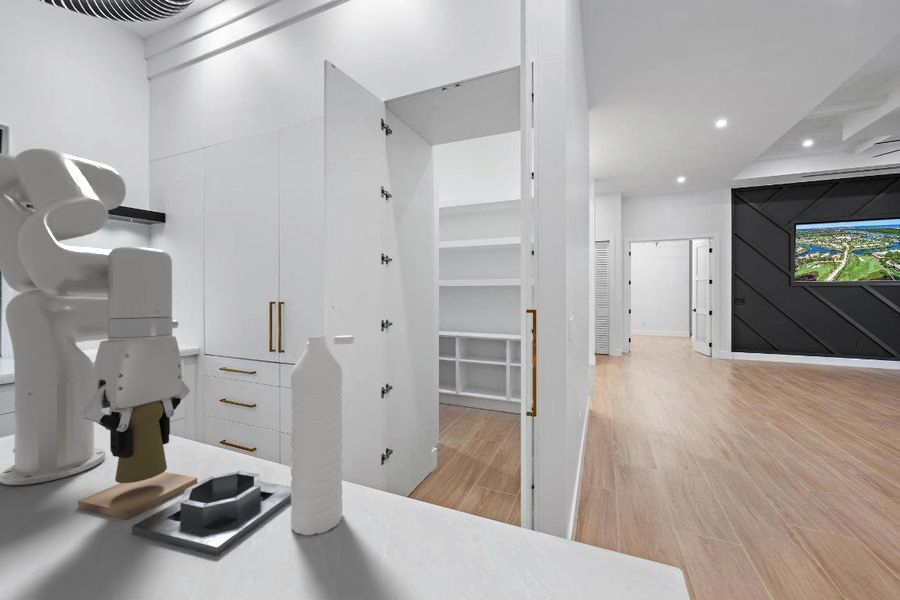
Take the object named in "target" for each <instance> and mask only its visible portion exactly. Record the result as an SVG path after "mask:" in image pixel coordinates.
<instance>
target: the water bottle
mask: <svg viewBox="0 0 900 600" xmlns="http://www.w3.org/2000/svg"><path fill="white" fill-rule="evenodd" d="M354 339H355V336H354V335H351V334H349V335H335V336H333V344H334V345H350V344H351V345H352V344H355V341H354ZM306 344H307V347H306V348H305V350H304V351H303V353H302V354H301V355H300V357H299V358H298V360H297V361H296V363H295V364H294V366H293V368H292V371H291V375H290V389H291V392H290V395H291V396H290V397H291V399H290V401H291V402H290V403H291V406H290V407H291V412H290V414H291V415H290V416H291V419H290V420H291V421H290V422H291V424H290V428H291V432H290V445H291V452H290V461H291V466H290V475H291V480H290V487H291V490H292V493H291V501H290V505H291V508H290V525H291V526H290V527H291V529H292V530H293V532H294V533H296V534H298V535H299V534H301V535H303V536H314V535H320V534H325V533H326V532H328V531H330V530H331V529H333V528H335V527H336V526H337V525H338V524H339V523H340V522H341V519H342V517H343V498H342V497H343V467H342V464H343V456H342V455H343V442H342V440H343V424H342V423H343V418H342V417H343V406H342V405H343V400H342V399H343V394H342V393H343V388H342V387H343V371H342V370H343V369H342V367H341V364H340V362H339V361H338V359H337V358H336V357H335V355H334V354H333V353H332V352H331V350H330V348H329V347H328V341H327V336H326V335H323V334H322V335H320V334H319V335H308V337H307V342H306Z"/></svg>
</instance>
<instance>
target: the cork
mask: <svg viewBox="0 0 900 600" xmlns="http://www.w3.org/2000/svg"><path fill="white" fill-rule="evenodd" d="M162 414H163V405H162V403H161V402H160V401H159V402H153V403H149V404H145V405H142V406H139V407H135V408H132V412H131V416H130V420H129V424H128V429H132V447H133V454H132V455H131V457H128V458H121V457H118V461H117V466H116V473H115V479H114V481H115V482H116V483H117V484H119V483H133V482H138V481H143V480H146V479H150V478H153V477H155V476H157V475H159V474H161V473H163V472H166V470H167V468H168V465H167V460H166V454H165V448H164V444H163V441H162V435H161V430H160V424H159V419H160V418H161V417H162Z"/></svg>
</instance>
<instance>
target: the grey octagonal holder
mask: <svg viewBox="0 0 900 600" xmlns="http://www.w3.org/2000/svg"><path fill="white" fill-rule="evenodd" d="M291 493H292V490H291V485H283V484H278V483H271V482H267V481H261V474H260V473H254V472H249V471H242V470H239V471H233V472H232V471H231V472H227V473H223V474H217V475H214V476H213V475H212V476H209V477H207V478H205V479H203V480H201V481H200V482H197V484H195V485H193V486H191V487H189V488H187V489H185V491H183V495H182V497H181V500H179V501H177V502H175V503H173V504H171V505H169V506H167V507H166V508H163V509H161V510H160V511H158V512H156V513H154V514H152V515H150V516H148V517H147V518H144V519H142V520H140V521H139V522H137V523H134V525H132V526H131V534H132V535H134V536H139V537H142V538H146V539H150V540H154V541H159V542H161V543H167V544H169V545H174V546H177V547H180V548H181V547H182V548H185V549H190V550H192V551H196V552H200V553H204V554H209V555H212V556H216V557H218V556H219V555H220V554H222V553H223V552H225V550H227V549H229V548H230V547H231V546H232V545H234V544H236V543H237V542H238V541H239V540H241V539H242V538H243V537H244V536H246V535H248V534H249V533H251V531H252V530H254V529H255V528H257V527H258V526H260V525H261V524H262V523H263V522H265V521H267V519H269V518H270V517H271V516H273V515H274V514H275V513H277V512H278V511H279V510H281V509H282V508H283V507H285V506H286V505H288V504H289V503H291ZM261 499H264V501H261ZM179 519H180V521H177V520H179Z"/></svg>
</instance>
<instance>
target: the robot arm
mask: <svg viewBox="0 0 900 600" xmlns="http://www.w3.org/2000/svg"><path fill="white" fill-rule="evenodd" d="M126 194H127V188H126V183H125V181H124V178H123V177H122V175H121V174H120V173H119V172H118V171H117V170H116V169H114V168H113V167H112V166H109V165H106V164H103V163H101V162H96V161H93V160H90V159H86V158H83V157H77V156H74V155H73V154H72V155H71V154H67V153H64V152H61V151H57V150H52V149H46V148H30V149H26V150H23V151H21V152H20V153H18V154H17V155H16V156H15V155H11V154H5V153H2V152H1V153H0V273H1V275H2V277H3V279H4V280H5V283H6V284H7V285H8V286H9V287H10V288H11V289H12V290H14V291H15V292H18V293H19V294H17V295H15V296H13V298H11V299H10V300H9V302H8V303H7V305H6V309H5V321H6V326H7V329H8V333H9V337H10V342H11V346H12V351H13V362H14V366H13V367H14V448H13V450H12V452H13V454H14V465H11V466H9V467H7V468H6V469H4V470H3V471H1V473H0V483H1V484H3V485H7V486H26V485H33V484H39V483H46V482H50V481H55V480H59V479H63V478H67V477H69V476H73V475H76V474H79V473H82V472H85V471H87V470H89V469H91V468H93V467H96V466H97V465H99V464H100V463H102V462H104V460H105V459H106V450H105V449H102V448H98V447H95V423H97V424H98V425H100V426H102V427H103V428H105V430H108V431H110V435H109V438H110V439H109V440H110V441H109V443H110V444H109V445H110V446H109V447H110V448H109V449H110V453H111V454H112V456H113V457H117V458H119V457H121V458H128V457H131V455H132V454H133V447H132V429H128V424H129V420H130V416H131V412H132V408H135V407H139V406H142V405H145V404H149V403H153V402H159V401H160V402H161V403H162V405H163V414H162V417H161V418H160V419H159V424H160V430H161V435H162V441H163V445H166V444H169V443H170V434H171V430H170V429H171V426H170V425H171V418H172V417H173V416H174V415H175V410H176V409H177V408H178V407H179V405H180V403H181V401H183V400H184V399H185V397H186V396H188V395H189V393H190V392H191V389H190V388H189V387H188V385H186V383H185V382H184V381H183V373H182V369H183V368H182V361H181V360H182V359H181V354H180V348H179V344H178V339H177V337H176V336H174V335H173V329H177V328H179V322H178V321H177V320H173V260H172V257H171V255H170V254H169V253H168V252H166V251H164V250H162V249H156V248H148V247H138V246H137V247H136V246H135V247H134V246H131V247H130V246H128V247H127V246H123V247H122V246H120V247H115V248H114V249H104V248H96V247H87V246H77V245H68V244H67V245H66V244H63V243H62V241H66V240H71V239H76V238H77V239H78V238H81V237H86V236H89V235H92V234H94V233H96V232H98V231H100V230H101V229H103V227H104V226H105V225H106V224H107V222H108V220H109V210H110V211H111V210H114V209H116V208H118V207H120V206H121V205H122V204H123V202H124V201H125V198H126ZM24 204H25V205H29V206H32V207H33V208H34V210H35V211H33V210H31V209H30V208H28V207H27V206H25V205H24ZM60 241H61V242H60ZM89 341H100V342H99V346H98V349H97V353H96V356H95V360H94V364H93V362H92V360H91V358H90V357H89V356H88V355H87V354H86V353H85V352H84V351H83V350H82V349H80V348H79V347H78V346H77V344H76V343H82V342H89ZM108 408H109V411H108V413H107V414H106V413H105V412H103V411H102V409H108Z"/></svg>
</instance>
